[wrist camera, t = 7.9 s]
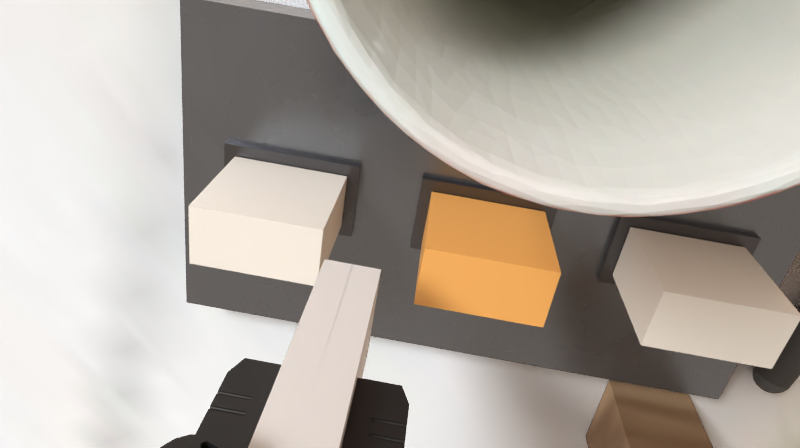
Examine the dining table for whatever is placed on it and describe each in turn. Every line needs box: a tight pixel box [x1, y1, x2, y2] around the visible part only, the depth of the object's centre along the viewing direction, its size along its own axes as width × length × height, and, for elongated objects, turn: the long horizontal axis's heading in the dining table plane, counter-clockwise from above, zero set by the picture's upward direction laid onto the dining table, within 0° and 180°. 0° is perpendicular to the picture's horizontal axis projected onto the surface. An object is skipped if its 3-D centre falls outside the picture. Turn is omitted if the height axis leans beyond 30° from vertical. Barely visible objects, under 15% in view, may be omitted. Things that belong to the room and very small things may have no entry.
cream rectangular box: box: [613, 227, 800, 369], centre depth 20 cm, size 2×4×4 cm, turn 81°
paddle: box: [188, 157, 347, 286], centre depth 20 cm, size 2×4×4 cm, turn 81°
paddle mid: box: [414, 192, 561, 327], centre depth 20 cm, size 2×4×4 cm, turn 81°
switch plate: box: [180, 0, 800, 399], centre depth 22 cm, size 12×22×2 cm, turn 81°
